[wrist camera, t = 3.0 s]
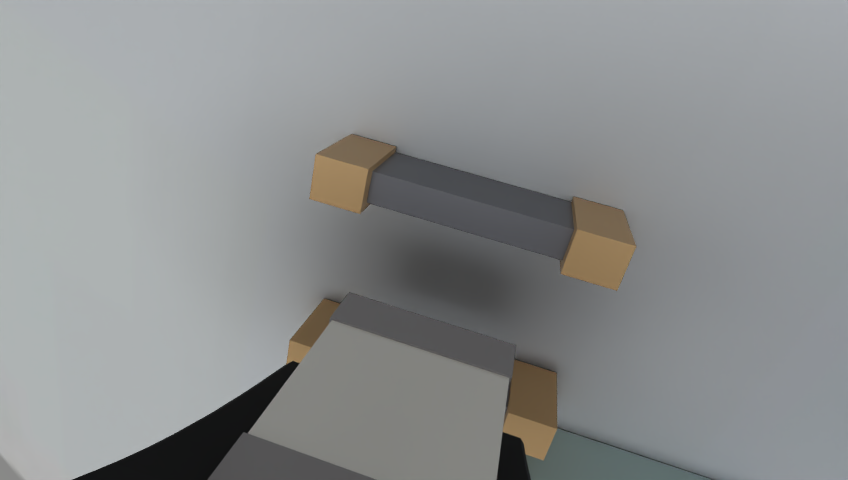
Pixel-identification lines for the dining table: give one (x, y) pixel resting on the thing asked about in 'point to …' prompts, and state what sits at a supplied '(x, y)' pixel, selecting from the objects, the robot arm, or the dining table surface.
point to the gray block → (383, 404)
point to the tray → (598, 462)
